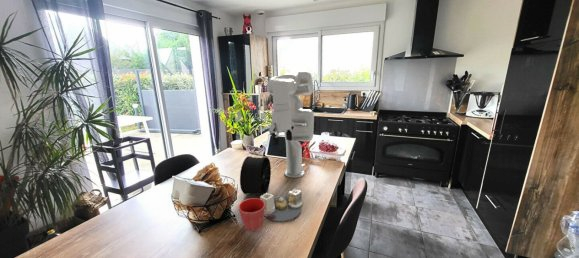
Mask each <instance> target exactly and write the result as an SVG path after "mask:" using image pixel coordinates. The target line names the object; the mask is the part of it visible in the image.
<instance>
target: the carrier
mask: <svg viewBox="0 0 579 258" xmlns="http://www.w3.org/2000/svg"><path fill="white" fill-rule="evenodd" d="M302 194H303V191H302V190H299V189H297V188H293V189H292V190H290V191H288V196H281V195H280V196H276V197H274V204H275V211H274V212H273V213H271V214H264V216H263V218H265V219H266V220H267V221H269V222H273V223H287V222H291V221H293V220H296V219H297V218H298V217H299V216H300V215H301V214H302V210H303V209H302V208H303V204H304V203H303V199H302V198H303V195H302Z"/></svg>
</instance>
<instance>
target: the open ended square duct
mask: <svg viewBox="0 0 579 258" xmlns="http://www.w3.org/2000/svg"><path fill="white" fill-rule="evenodd" d="M274 198H275V197H274V195H273V194H270V193H269V192H267V193H266V194H264V195H259V199H261V200H262V201H263V202H264V203H265V208H264V214H271V213H273V212H274V211H275V204H274Z"/></svg>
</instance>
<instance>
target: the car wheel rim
mask: <svg viewBox="0 0 579 258" xmlns="http://www.w3.org/2000/svg"><path fill="white" fill-rule="evenodd" d="M269 158H270V157H267V156H262V157H257V156H255V157H254V156H253V157H252V156H250V155H248V156H246V157H245V158H244V160H243V162H242V164H241V167H240V168H241V169H240V173H239V185H240V190H241V192H242V193H243V194H244V195H248V194H251V195H252V194H254V195H258V196H262V195H264V194H266V193H268V191H269V188H270V184H271V175H272V168H271V167H272V165H271V161H270V160H271V159H269Z"/></svg>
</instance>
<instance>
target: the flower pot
mask: <svg viewBox="0 0 579 258" xmlns="http://www.w3.org/2000/svg"><path fill="white" fill-rule="evenodd" d="M264 208H265V203H264V202H263V201H262V200H261V199H260V198H256V197H252V198H246V199H245V200H242V201H241V202H240V203H239V204H238V211H239V215H240V218H241V221H242V224H243V227H244V228H245V230H247V231H257V230H259V229H260V228H261V227H262V226H263V224H264V223H263V221H264Z"/></svg>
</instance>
